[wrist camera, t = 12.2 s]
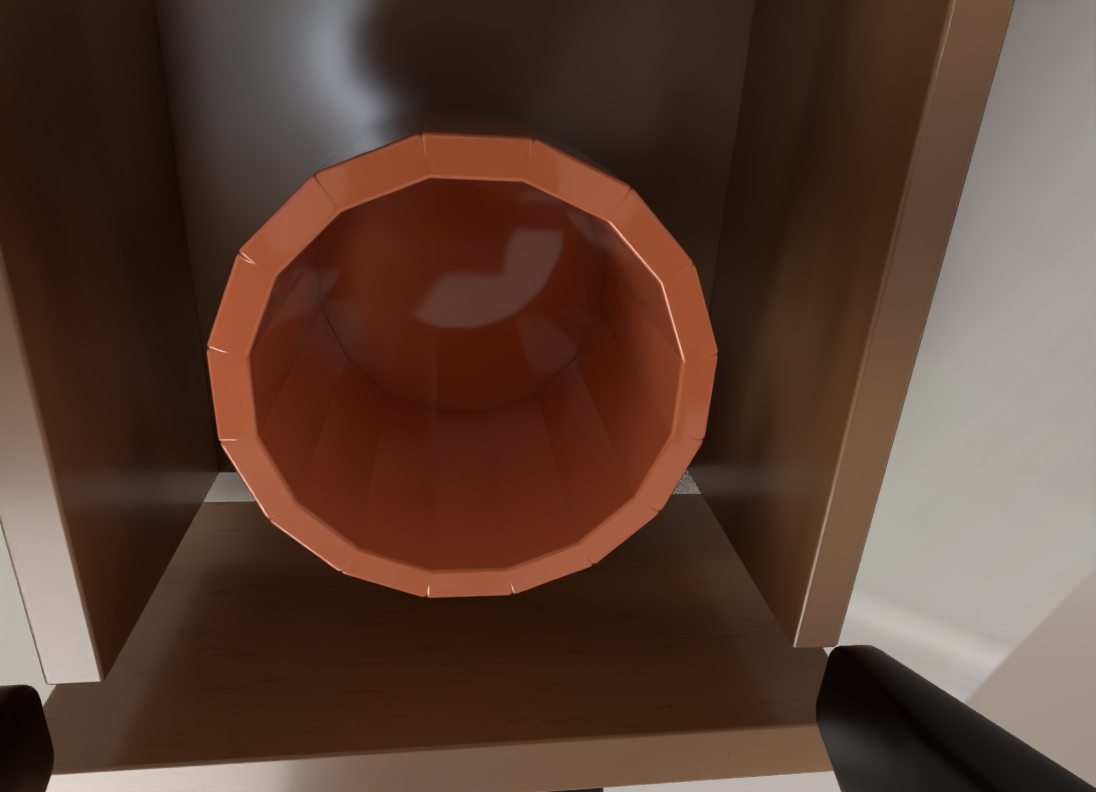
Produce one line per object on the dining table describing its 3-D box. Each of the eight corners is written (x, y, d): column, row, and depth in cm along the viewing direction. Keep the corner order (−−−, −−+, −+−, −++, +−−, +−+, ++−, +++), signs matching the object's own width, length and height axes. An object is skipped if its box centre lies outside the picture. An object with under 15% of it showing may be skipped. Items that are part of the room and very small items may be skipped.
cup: (605, 418, 17) (681, 590, 11) (310, 419, 16) (239, 606, 10) (634, 114, 14) (753, 148, 9) (284, 95, 13) (172, 119, 8)
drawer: (695, 655, 22) (807, 923, 15) (199, 679, 20) (73, 998, 13) (857, -260, 13) (1287, -596, 6) (17, -371, 11) (-610, -1003, 5)
